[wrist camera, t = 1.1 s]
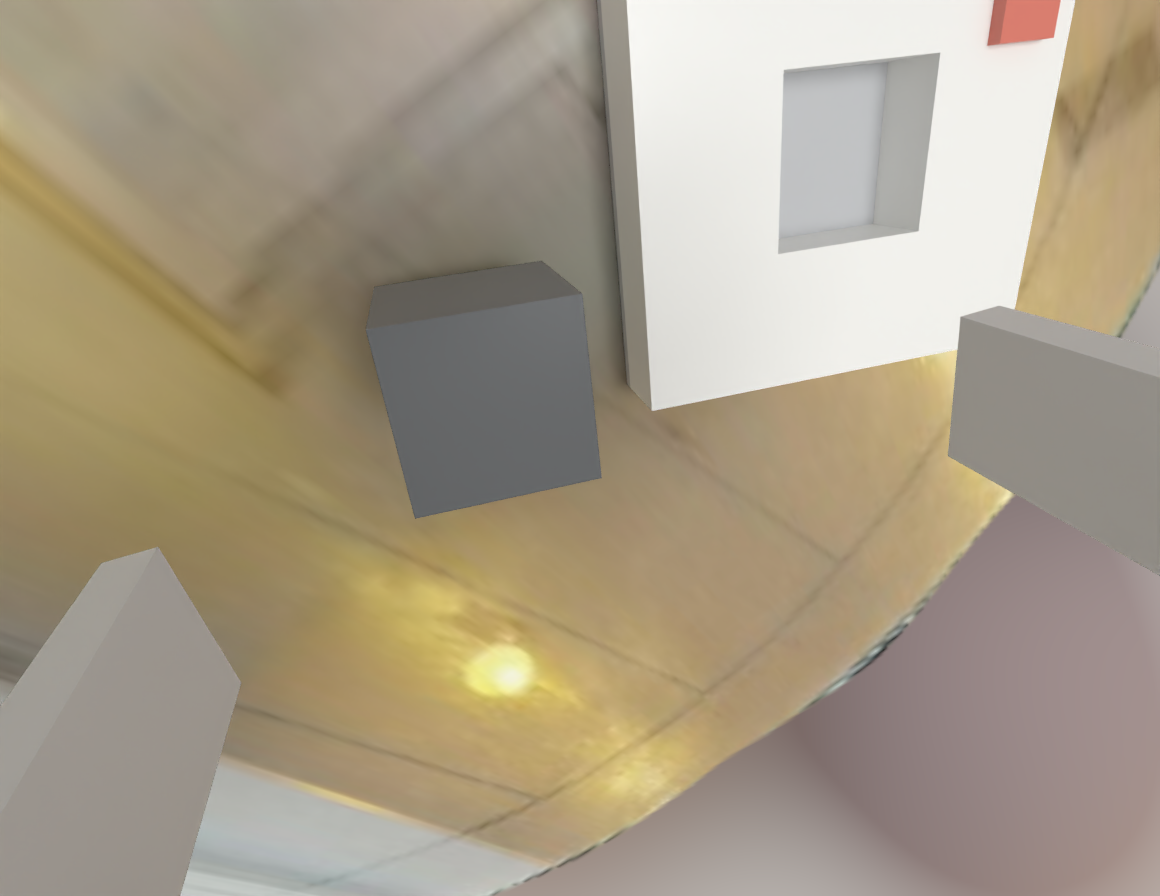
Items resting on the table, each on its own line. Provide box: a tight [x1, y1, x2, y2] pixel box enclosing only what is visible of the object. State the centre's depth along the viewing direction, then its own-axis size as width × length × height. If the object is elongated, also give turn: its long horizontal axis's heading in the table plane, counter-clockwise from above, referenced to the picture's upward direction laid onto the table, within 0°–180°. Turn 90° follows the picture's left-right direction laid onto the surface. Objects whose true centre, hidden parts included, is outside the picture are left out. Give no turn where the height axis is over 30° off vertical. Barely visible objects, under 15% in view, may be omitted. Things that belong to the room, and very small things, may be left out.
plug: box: [366, 261, 602, 519], centre depth 23 cm, size 6×6×10 cm
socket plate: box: [597, 0, 1075, 411], centre depth 27 cm, size 18×18×4 cm
